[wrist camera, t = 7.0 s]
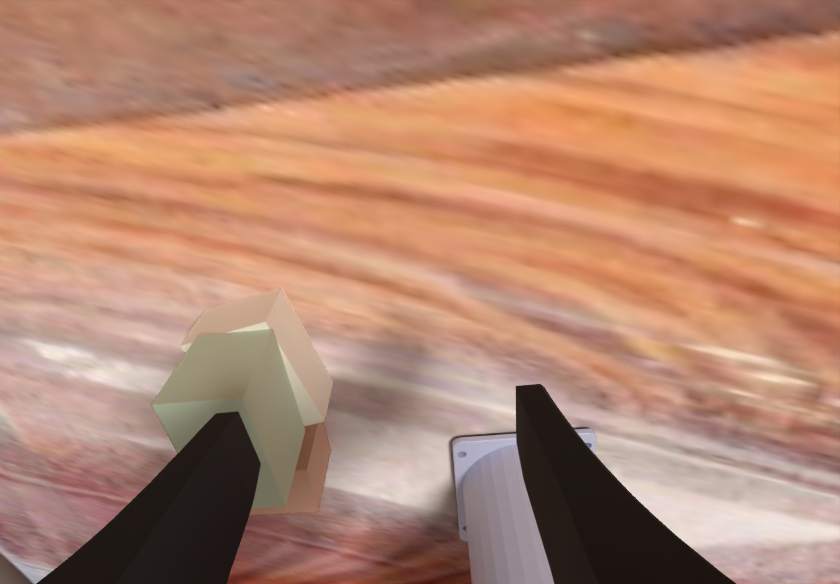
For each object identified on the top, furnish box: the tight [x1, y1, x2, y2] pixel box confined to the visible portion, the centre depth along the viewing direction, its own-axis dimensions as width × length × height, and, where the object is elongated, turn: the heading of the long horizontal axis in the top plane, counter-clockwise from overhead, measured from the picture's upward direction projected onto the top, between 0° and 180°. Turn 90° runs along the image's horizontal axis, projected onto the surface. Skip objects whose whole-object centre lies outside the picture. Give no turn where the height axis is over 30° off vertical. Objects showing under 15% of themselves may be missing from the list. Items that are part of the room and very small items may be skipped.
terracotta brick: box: [249, 422, 331, 515], centre depth 25 cm, size 6×3×4 cm, turn 94°
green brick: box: [152, 329, 305, 509], centre depth 19 cm, size 6×3×4 cm, turn 6°
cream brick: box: [180, 287, 333, 426], centre depth 22 cm, size 6×4×3 cm, turn 18°
